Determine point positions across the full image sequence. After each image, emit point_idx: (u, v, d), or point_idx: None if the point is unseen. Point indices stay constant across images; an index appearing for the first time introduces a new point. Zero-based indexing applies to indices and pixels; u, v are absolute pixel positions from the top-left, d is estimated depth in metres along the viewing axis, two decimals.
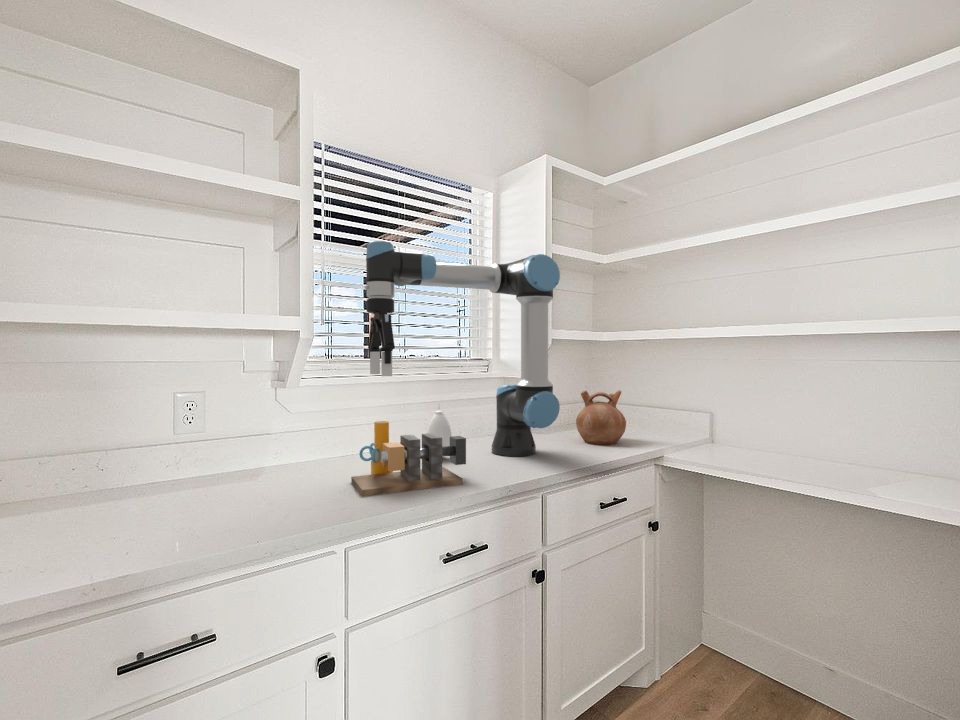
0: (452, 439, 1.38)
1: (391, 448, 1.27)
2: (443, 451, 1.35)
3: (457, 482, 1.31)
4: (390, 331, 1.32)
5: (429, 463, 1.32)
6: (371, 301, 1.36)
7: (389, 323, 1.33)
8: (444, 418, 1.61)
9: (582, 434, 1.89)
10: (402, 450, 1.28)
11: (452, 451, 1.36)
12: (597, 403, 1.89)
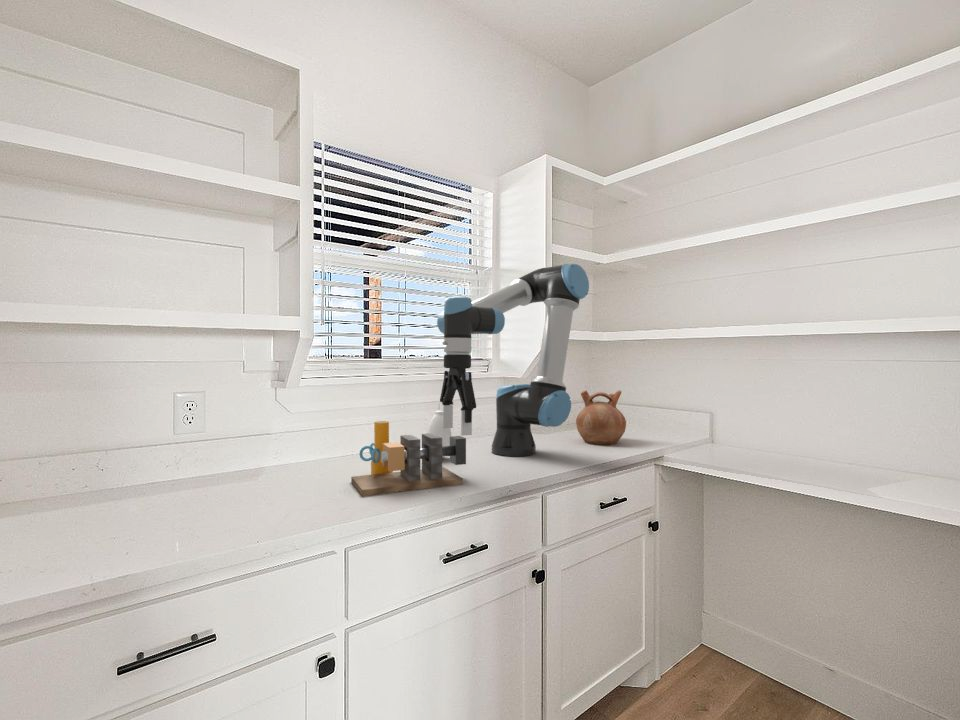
0: (452, 439, 1.38)
1: (391, 448, 1.27)
2: (443, 451, 1.35)
3: (457, 482, 1.31)
4: (471, 390, 1.31)
5: (429, 463, 1.32)
6: (450, 357, 1.34)
7: (469, 381, 1.32)
8: None
9: (582, 434, 1.89)
10: (402, 450, 1.28)
11: (452, 451, 1.36)
12: (597, 403, 1.89)
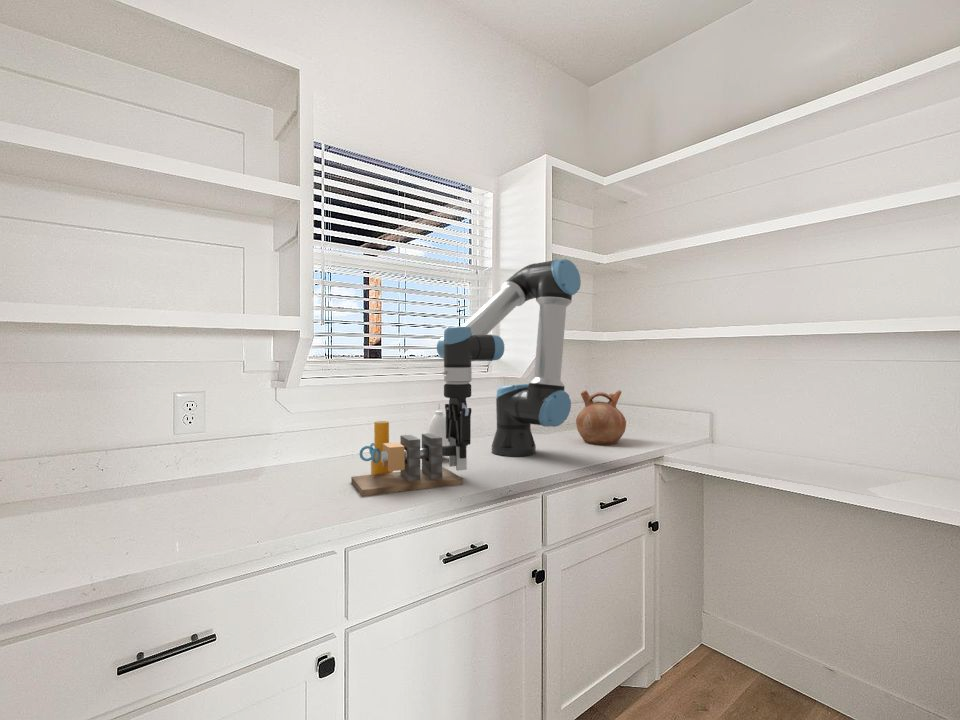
0: (452, 439, 1.38)
1: (391, 448, 1.27)
2: (443, 451, 1.35)
3: (457, 482, 1.31)
4: (468, 427, 1.33)
5: (429, 463, 1.32)
6: (450, 387, 1.35)
7: (468, 417, 1.33)
8: (444, 418, 1.61)
9: (582, 434, 1.89)
10: (402, 450, 1.28)
11: (452, 451, 1.36)
12: (597, 403, 1.89)
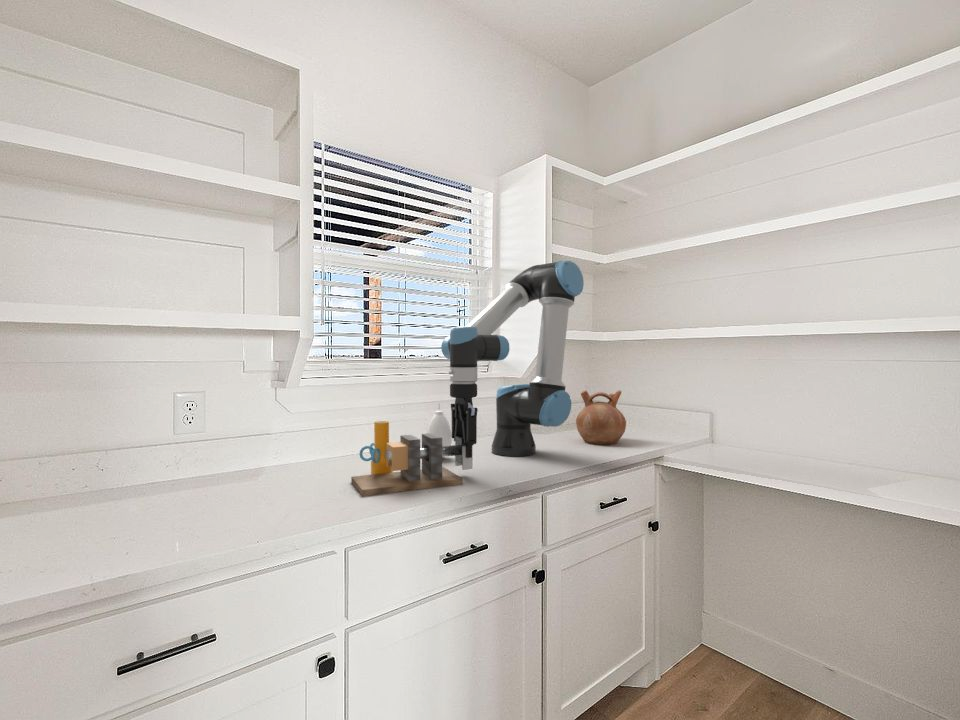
0: (458, 439, 1.38)
1: (395, 448, 1.27)
2: (449, 450, 1.36)
3: (457, 482, 1.31)
4: (474, 426, 1.34)
5: (429, 463, 1.32)
6: (456, 387, 1.35)
7: (474, 417, 1.34)
8: (444, 418, 1.61)
9: (582, 434, 1.89)
10: (406, 450, 1.29)
11: (458, 450, 1.37)
12: (597, 403, 1.89)
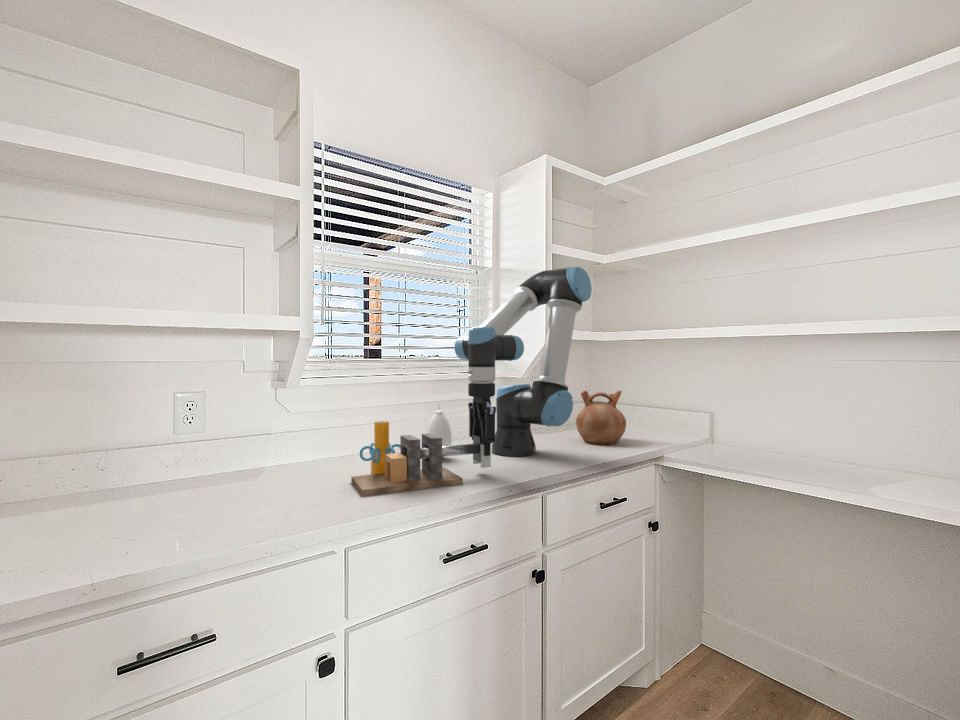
0: (476, 437, 1.41)
1: (394, 459, 1.27)
2: (467, 449, 1.38)
3: (457, 482, 1.31)
4: (493, 425, 1.36)
5: (429, 463, 1.32)
6: (475, 386, 1.38)
7: (493, 416, 1.36)
8: (444, 418, 1.61)
9: (582, 434, 1.89)
10: (405, 461, 1.29)
11: (476, 449, 1.39)
12: (597, 403, 1.89)
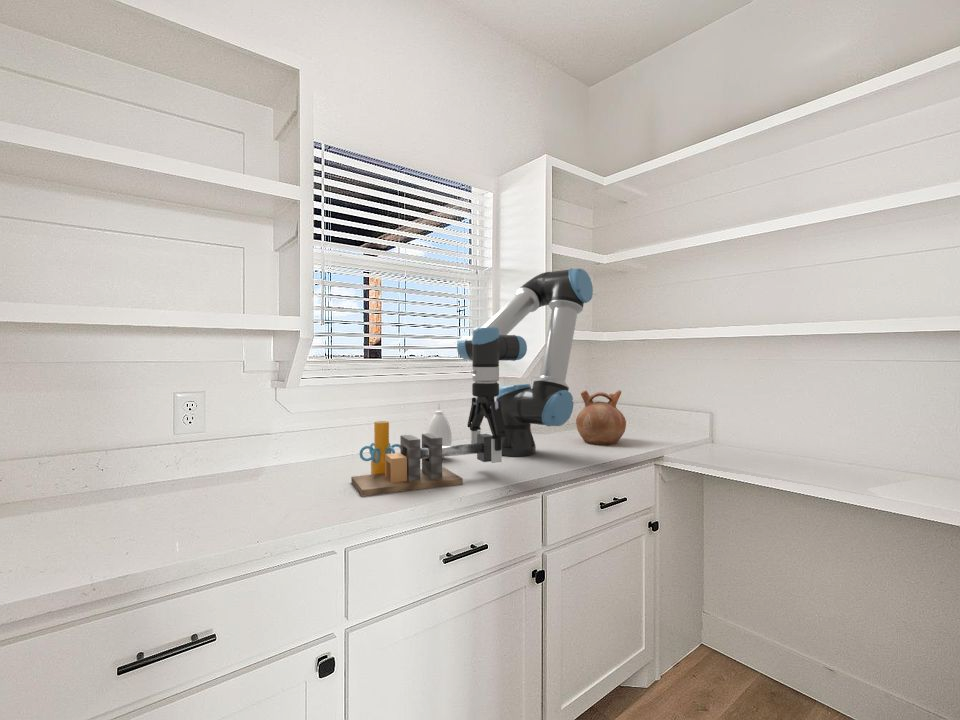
0: (480, 437, 1.41)
1: (394, 459, 1.27)
2: (472, 448, 1.38)
3: (457, 482, 1.31)
4: (501, 418, 1.34)
5: (429, 463, 1.32)
6: (479, 386, 1.38)
7: (499, 410, 1.35)
8: (444, 418, 1.61)
9: (582, 434, 1.89)
10: (405, 461, 1.29)
11: (480, 448, 1.40)
12: (597, 403, 1.89)
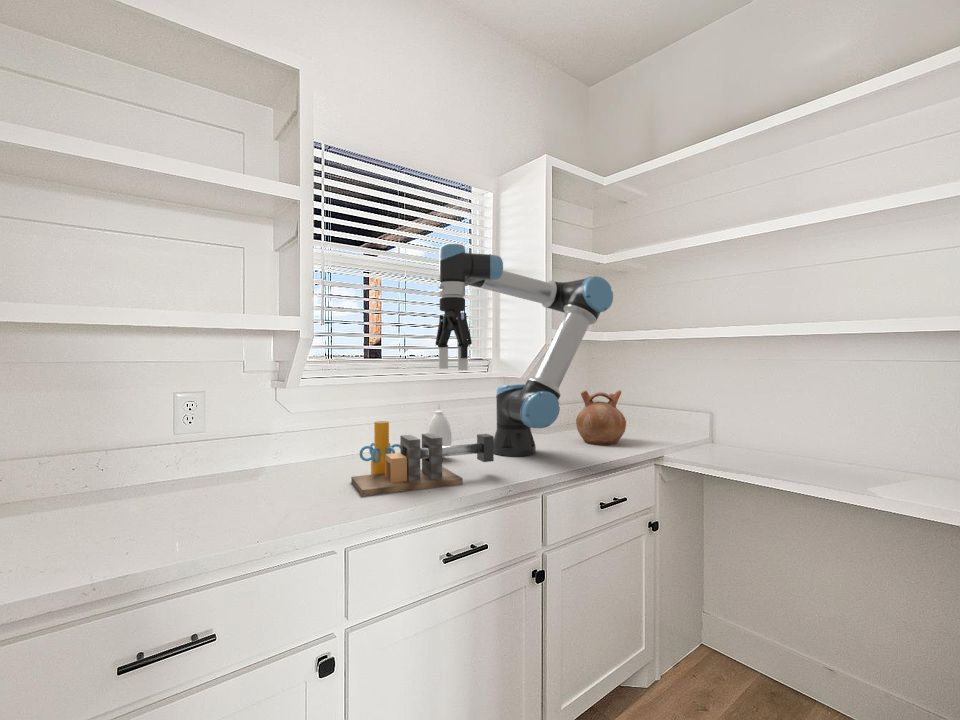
0: (480, 437, 1.41)
1: (394, 459, 1.27)
2: (472, 448, 1.38)
3: (457, 482, 1.31)
4: (466, 328, 1.42)
5: (429, 463, 1.32)
6: (446, 300, 1.45)
7: (465, 320, 1.43)
8: (444, 418, 1.61)
9: (582, 434, 1.89)
10: (405, 461, 1.29)
11: (480, 448, 1.40)
12: (597, 403, 1.89)
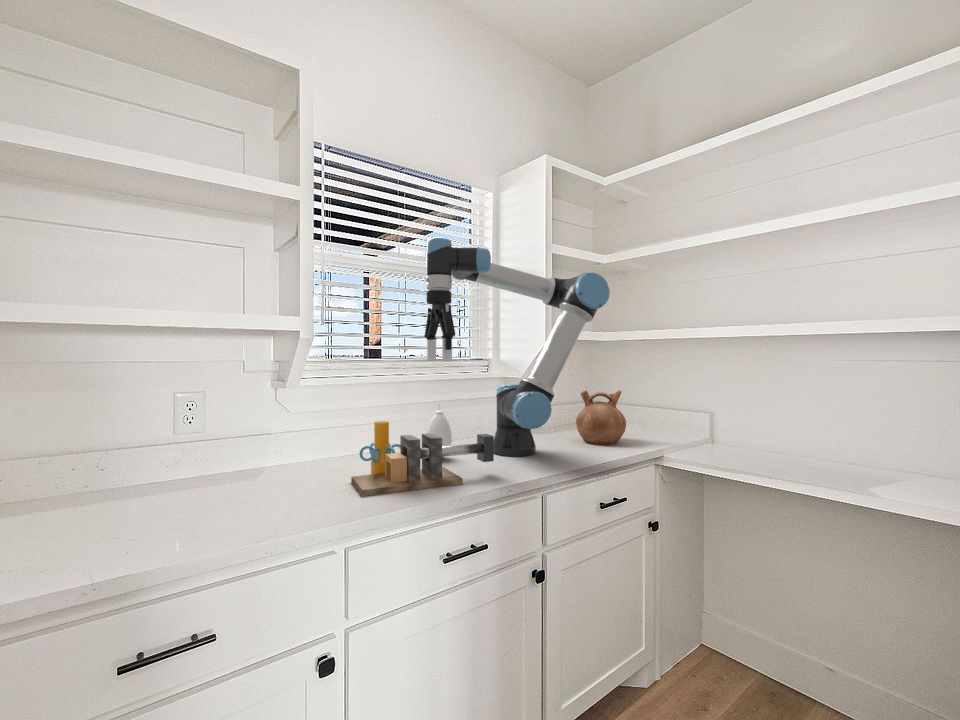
0: (480, 437, 1.41)
1: (394, 459, 1.27)
2: (472, 448, 1.38)
3: (457, 482, 1.31)
4: (451, 320, 1.45)
5: (429, 463, 1.32)
6: (432, 292, 1.49)
7: (449, 313, 1.46)
8: (444, 418, 1.61)
9: (582, 434, 1.89)
10: (405, 461, 1.29)
11: (480, 448, 1.40)
12: (597, 403, 1.89)
